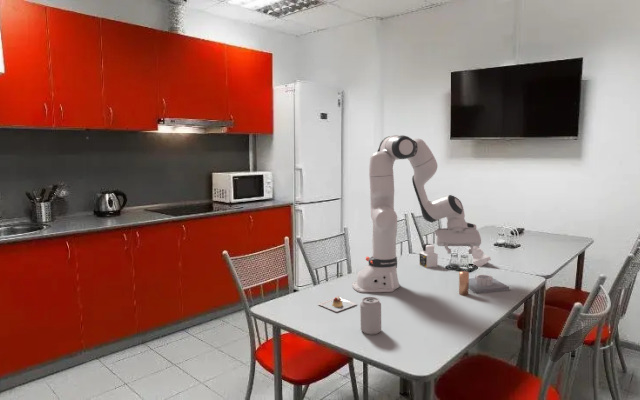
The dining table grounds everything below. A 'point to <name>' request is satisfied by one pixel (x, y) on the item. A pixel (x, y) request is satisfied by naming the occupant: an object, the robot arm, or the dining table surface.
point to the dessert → (337, 303)
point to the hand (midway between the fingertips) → (459, 253)
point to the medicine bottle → (428, 256)
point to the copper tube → (464, 283)
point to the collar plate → (486, 284)
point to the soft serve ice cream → (479, 256)
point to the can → (370, 315)
